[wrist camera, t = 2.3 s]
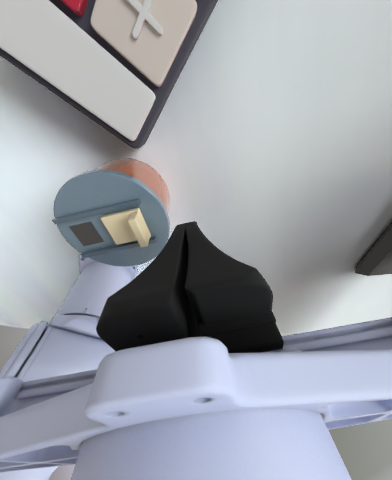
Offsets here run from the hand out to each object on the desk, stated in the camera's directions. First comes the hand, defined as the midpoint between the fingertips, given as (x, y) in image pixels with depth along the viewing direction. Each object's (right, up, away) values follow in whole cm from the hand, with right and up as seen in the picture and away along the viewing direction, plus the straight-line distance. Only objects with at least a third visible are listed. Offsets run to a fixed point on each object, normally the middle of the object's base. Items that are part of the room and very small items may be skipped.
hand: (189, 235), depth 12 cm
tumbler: (-7, +5, +9) cm, 12 cm away
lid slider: (-5, +1, +3) cm, 6 cm away
